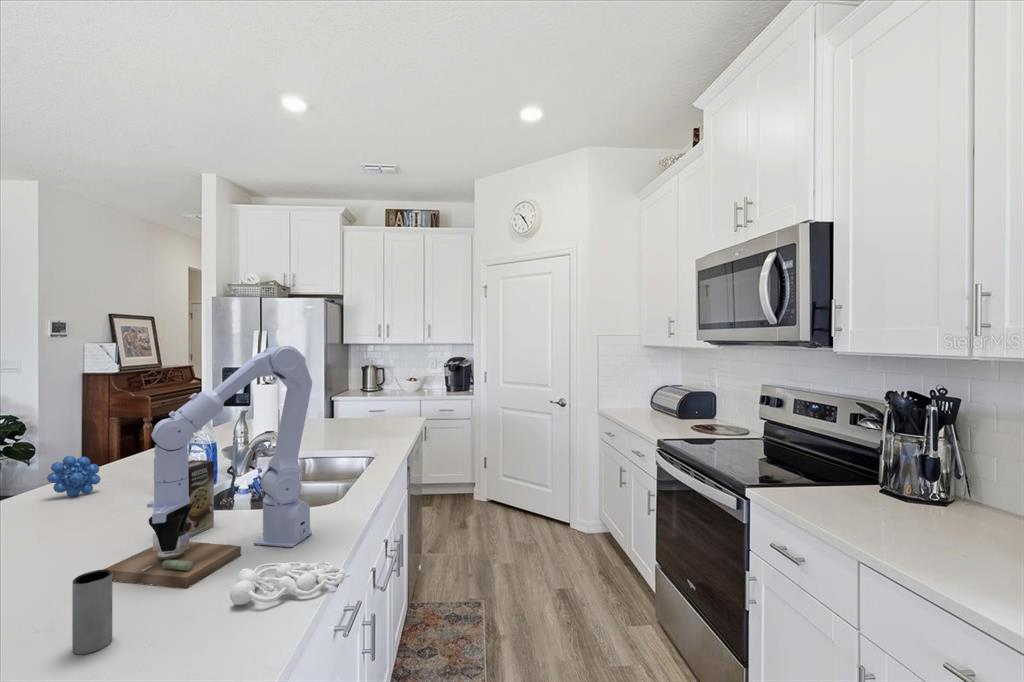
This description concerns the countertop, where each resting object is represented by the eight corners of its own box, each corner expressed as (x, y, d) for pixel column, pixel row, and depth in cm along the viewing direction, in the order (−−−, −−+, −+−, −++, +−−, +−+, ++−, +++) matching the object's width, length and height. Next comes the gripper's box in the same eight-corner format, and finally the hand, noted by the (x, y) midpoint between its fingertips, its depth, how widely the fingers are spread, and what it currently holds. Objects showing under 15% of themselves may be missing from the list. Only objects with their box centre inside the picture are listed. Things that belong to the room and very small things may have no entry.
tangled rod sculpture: (348, 568, 101) (348, 547, 102) (350, 597, 88) (350, 573, 88) (241, 581, 95) (242, 558, 95) (226, 614, 81) (227, 587, 81)
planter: (65, 650, 72) (65, 580, 72) (100, 633, 76) (100, 567, 76) (84, 658, 70) (84, 586, 70) (119, 639, 75) (119, 572, 75)
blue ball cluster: (49, 504, 135) (49, 461, 135) (45, 499, 140) (45, 457, 140) (103, 494, 144) (103, 453, 144) (98, 490, 149) (98, 450, 149)
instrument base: (240, 555, 104) (240, 538, 104) (186, 588, 90) (186, 568, 90) (166, 549, 107) (166, 532, 107) (103, 580, 93) (103, 561, 93)
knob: (193, 551, 100) (193, 528, 100) (175, 561, 96) (175, 536, 96) (167, 549, 101) (167, 526, 101) (148, 558, 97) (148, 534, 97)
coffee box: (183, 541, 111) (183, 469, 111) (159, 538, 112) (159, 468, 112) (215, 526, 120) (215, 460, 120) (192, 524, 121) (192, 458, 121)
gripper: (160, 471, 104) (161, 535, 104) (132, 491, 90) (132, 565, 91) (199, 468, 106) (199, 531, 107) (177, 487, 93) (177, 559, 93)
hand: (171, 546), depth 99 cm, fingers closed on knob, 3 cm apart
